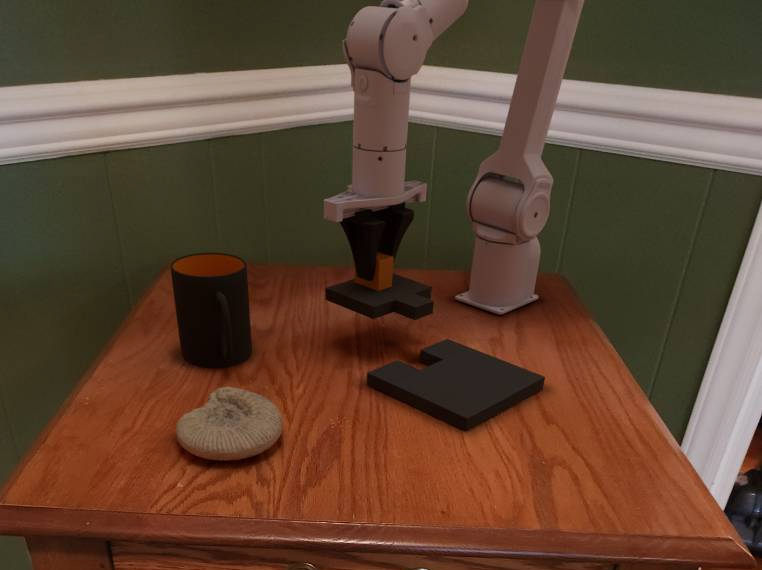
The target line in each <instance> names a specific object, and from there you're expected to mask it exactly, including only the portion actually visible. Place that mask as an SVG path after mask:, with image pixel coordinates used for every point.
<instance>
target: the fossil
mask: <svg viewBox="0 0 762 570" xmlns="http://www.w3.org/2000/svg"><path fill="white" fill-rule="evenodd" d="M207 400H208V401H207V402H206V403H205V404H203V406H201V407H197V408H195V409H192V410H191V411H190V412H187V413H186V412H185V413H184V414H183V415H182V416H181V418H180V419H179V420H177V422H176V425H175V432H176V438H177V441H178V443H179V444H180V446H181V447H182V448H183V449H184V450H185V451H187V452H188V453H190V454H192V455H194V456H195V457H198V458H203V459H206V460H211V461H220V462H222V461H224V462H227V461H240V460H245V459H248V458H252V457H255V456H257V455H261V454H262V453H264V452H265V451H267V450H269V449H271V447H272V446H274V444H276V443H277V441H278V440H279V439H280V436H281V435H282V431H283V418H282V415H281V414H282V413H281V412H280V410H279V408H278V407H277V406H276V405H275V403H274V402H272V401H271V400H269V398H268V397H265V396H264V395H261V394H259V393H255V392H254V391H253V392H251V391H250V390H246V389H242V388H238V387H232V386H223V387H220V386H219V387H218V388H216V389H215V390H214V391H212V392H211V393H210V394H209V395H208V396H207Z"/></svg>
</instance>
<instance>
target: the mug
mask: <svg viewBox="0 0 762 570" xmlns="http://www.w3.org/2000/svg"><path fill="white" fill-rule="evenodd" d="M169 267H170V274H171V283H172V291H173V300H174V308H175V314H176V322H177V330H178V337H179V346H180V354H181V357H182V359H183V360H184V361H185V362H186V363H188V364H190V365H193V366H194V367H195V366H196V367H199V368H207V369H208V368H209V369H221V368H222V369H223V368H228V367H234V366H237V365H239V364H243V362H246V361H247V360H249V359H250V357H251V356H252V354H253V344H252V341H253V340H252V328H251V326H252V325H251V312H250V310H251V309H250V297H249V295H250V293H249V281H248V279H249V278H248V267H247V261H245V259H244V258H241V257H240V256H237V255H234V254H231V253H223V252H198V253H191V254H187V255H183V256H180V257H178V258H176V259H174V260H173V261H172V262H171V263H170V266H169Z"/></svg>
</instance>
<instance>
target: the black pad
mask: <svg viewBox="0 0 762 570" xmlns="http://www.w3.org/2000/svg"><path fill="white" fill-rule="evenodd" d="M393 259H394V257H392V256H389V255H386V254H383V253H380V252H377V258H376V269H375V274H374V278H373V280H371V281H367V280H365V279H362V278H359V277H357V273H356V268H355V267H354V277H353V278H352V279H349V280H346V281H343V282H339V283H336V284H332V285H329V286H326V287H325V288H324V289H325V293H324V294H325V298H324V299H325V301H327V302H330V303H332V304H335V305H337V306H339V307H342V308H344V309H347V310H349V311H352V312H354V313H357V314H360V315H362V316H365V317H367V318H368V319H369V318H370V319H371V320H376V319H378V318H381V317H384V316H386V315H389V314H393V313H395V314H397V315H401V316H403V317H406V318H408V319H410V320H413V321H416V320H420V319H422V318H424V317H428V316H430V315H433V314H434V308H435V307H434V305H435V300H434V299H432V290H433V289H432V288H433V286H430V285H428V284H425V283H422V282H419V281H416V280H414V279H410V278H407V277H405V276H402V275H399V274H396V273H394V264H393Z"/></svg>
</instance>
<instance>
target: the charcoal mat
mask: <svg viewBox="0 0 762 570" xmlns="http://www.w3.org/2000/svg"><path fill="white" fill-rule="evenodd" d="M419 363H421V364H424V365H426V367H423V368H421V369H420V368H417V367H415V366H412V365H411V364H408V363H406V362H403V361H401V360H399V359H396V360H393V361H390V362H389V363H386V364H383V365H382V366H379V367H376V368H375V369H373V370H370V371H368V372H367V373H366V386H368V387H370V388H372V389H375V390H377V391H379V392H380V393H383V394H385V395H388V396H390V397H392V398H394V399H396V400H398V401H401V402H402V403H404V404H406V405H409V406H411V407H413V408H414V409H417V410H419V411H422V412H424V413H426V414H428V415H431V416H432V417H434V418H436V419H439V420H440V421H443V422H445V423H447V424H449V425H451V426H453V427H455V428H458V429H459V430H462V431H464V432H468V431H469V430H471V429H473V428H475V427H476V426H478V425H481V424H482V423H484V422H486V421H487V420H489V419H491V418H493V417H495V416H496V415H499V414H500V413H502V412H503V411H505V410H508V409H510V408H511V407H513V406H515V405H517V404H518V403H520V402H522V401H524V400H526V399H527V398H529V397H532V396H533V395H534V394H536V393H538V392H540V391H542V390H543V389H544V385H545V381H546V376H544V375H542V374H539V373H536V372H534V371H532V370H529V369H527V368H524V367H521V366H518V365H516V364H513V363H511V362H508V361H505V360H503V359H500V358H498V357H495V356H492V355H490V354H488V353H486V352H483V351H480V350H477V349H474V348H472V347H469V346H467V345H464V344H462V343H460V342H456V341H454V340H452V339H449V338H445V339H443V340H440V341H438V342H436V343H433V344H431V345H428V346H426V347H424V348H421V349H420V352H419Z"/></svg>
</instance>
